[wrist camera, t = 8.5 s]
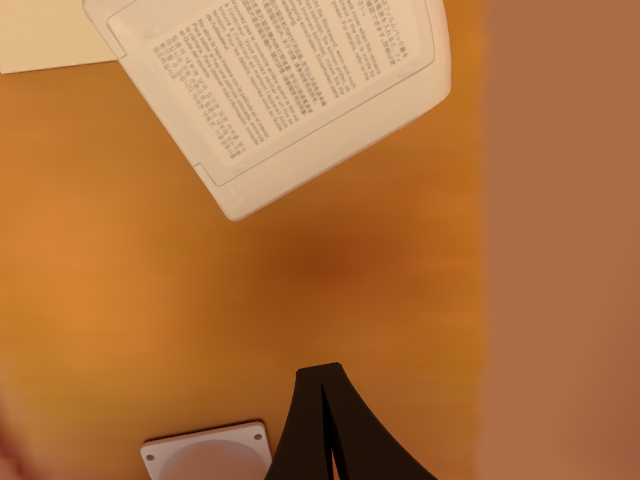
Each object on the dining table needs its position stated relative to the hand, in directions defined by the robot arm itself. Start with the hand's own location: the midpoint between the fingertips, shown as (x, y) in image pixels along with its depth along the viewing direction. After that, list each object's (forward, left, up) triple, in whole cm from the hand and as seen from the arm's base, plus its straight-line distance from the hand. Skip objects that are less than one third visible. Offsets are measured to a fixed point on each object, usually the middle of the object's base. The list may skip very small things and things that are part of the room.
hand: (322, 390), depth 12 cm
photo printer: (+8, +5, -8) cm, 12 cm away
